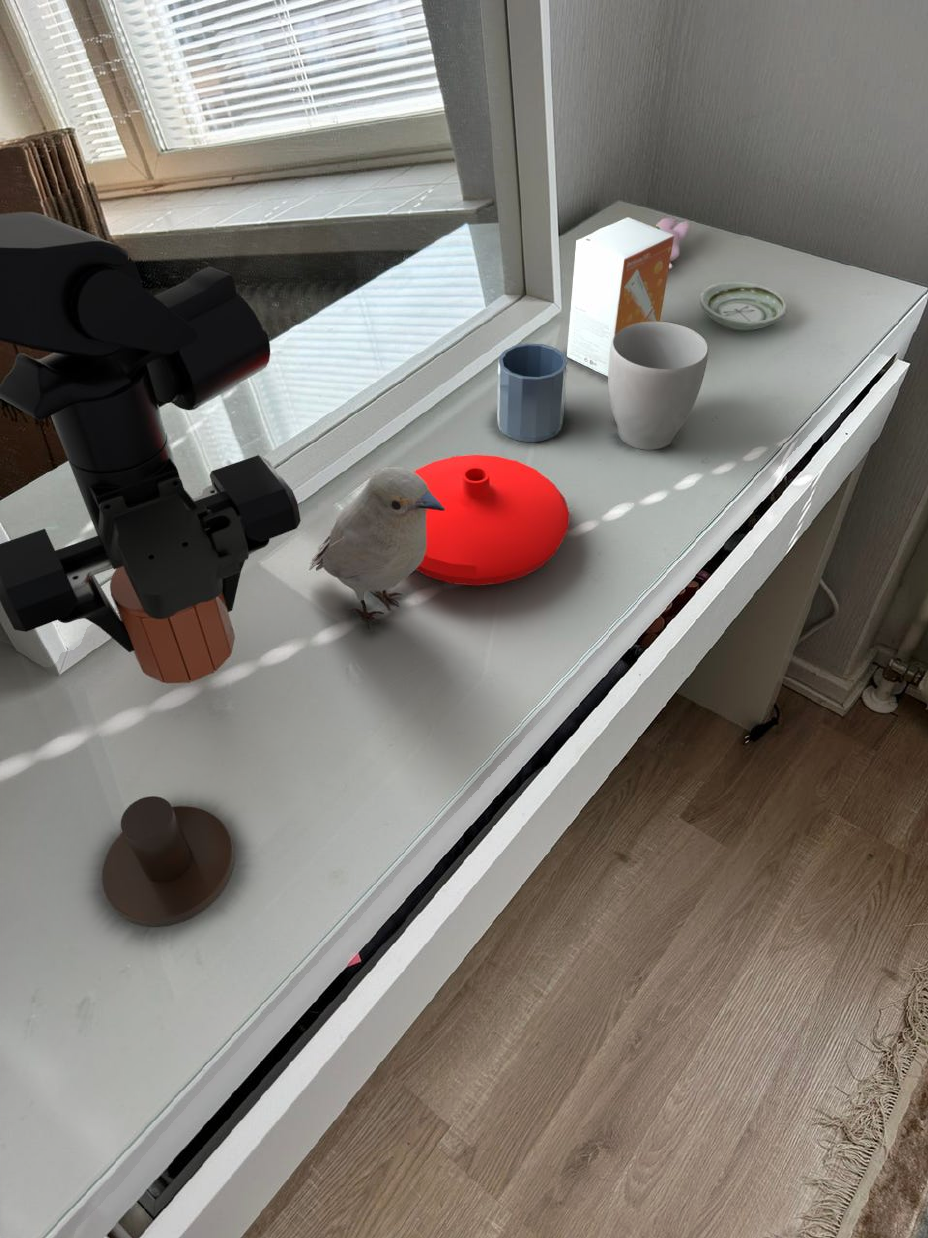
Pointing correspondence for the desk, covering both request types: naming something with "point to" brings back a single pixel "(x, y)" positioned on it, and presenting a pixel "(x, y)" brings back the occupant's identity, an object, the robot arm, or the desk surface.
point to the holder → (166, 862)
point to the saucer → (743, 305)
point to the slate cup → (531, 392)
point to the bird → (379, 535)
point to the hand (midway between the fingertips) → (179, 627)
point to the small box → (615, 287)
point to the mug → (654, 380)
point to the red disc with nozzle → (490, 520)
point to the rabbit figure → (678, 234)
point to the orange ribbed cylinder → (175, 635)
